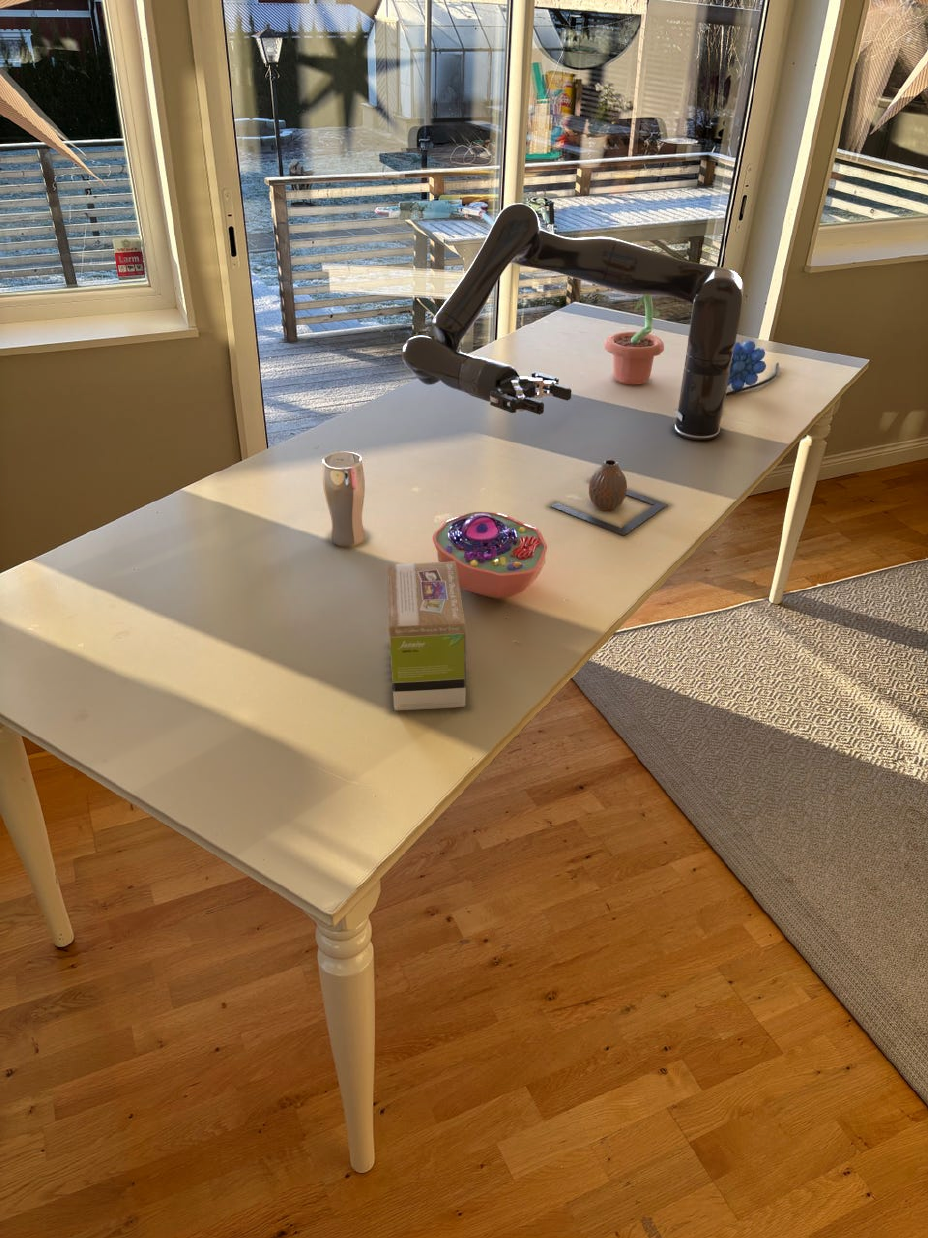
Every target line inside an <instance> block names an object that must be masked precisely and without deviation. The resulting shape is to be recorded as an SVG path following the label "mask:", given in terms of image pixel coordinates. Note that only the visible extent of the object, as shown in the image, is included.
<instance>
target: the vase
mask: <svg viewBox="0 0 928 1238" xmlns="http://www.w3.org/2000/svg"><path fill="white" fill-rule="evenodd" d="M627 481H628V480H627V478H626V475H625V474H624V472H623V471H622V469H621V468H620V466H619V464H618V461H617V460H614V459H606V460H604V461H603V463H602V465H601V466H599V467H598V469H596V470H595V471H594V472H593V474H592V475H591V478H590V480H589V485H588V495H589V498H590V501H591V502H592V504H593V506H595V507H596V508H598V509H600V510H602V511H612V510H615V509H616V508H618V507H619V506H620V505H621V504H623V502H624V500H625V498H626V496H627V495H626V492H627V490H628V482H627Z"/></svg>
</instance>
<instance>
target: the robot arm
mask: <svg viewBox="0 0 928 1238" xmlns="http://www.w3.org/2000/svg"><path fill="white" fill-rule="evenodd" d="M497 215H498V216H497V217H496V218H495V221H494V223H493V225H492V227H491V229H490V231H489V233H488V235H487V236H486V239H485V241H484V242H483V244H482V246H481V248H480V249H479V251H478V253H477V255H476V256H475V258H474V260H473V262H472V263H471V264H470V266H469V268H468V269H467V271H466V273H465V274H464V276H463V277H462V279H461V280H460V282H459V283H458V284H457V286H456V287H455V289H453V291H452V293H450V295H449V297H448V298H447V299H446V300H445V302H444V303H443V305H442V306H441V307H440V309H439V310H438V311H437V313H436V314H435V316H434V317H433V319H432V320H431V321H432V322H431V326H432V331H433V333H434V338H432V337H429V336H426V335H416V336H413V337H410V338H409V339H408V340H406V341H405V342H404V343H403V346H402V348H401V352H400V353H401V354H400V355H401V359H402V362H403V364H404V366H405V367H407V369H408V370H410V372H411V373H412V374H413V376H415V377H416V379H418V381H419V382H420V383H422V384H424V385H425V386H426V385H427V386H432V385H435V384H437V383H439V382H441V383H442V384H443V385H445V386H447V387H449V388H451V389H453V390H457V391H459V392H463V393H466V394H468V395H470V396H471V397H473V398H476V399H480V400H483V401H486V402H489V406H491V407H495V408H497V409H499V410H502V411H505V412H508V413H511V414H514V413H517V410H518V411H519V412H524V411H526V412H529V413H534V414H535V415H542V414H544V411H545V404H544V402H543V401H541V400H537V398H538V399H541V398H543V397H544V396H546V397H547V396H551V397H553V398H557V399H560V400H564V401H570V400H571V399H572V393H573V392H572V389H571V388H570V387H567V386H564V385H560V384H559V381H560V378H559V377H557V376H553V375H549V374H545V373H541V372H538V371H531V375H530V377H529V376H520V374H518V371H517V370H516V368H515V367H514V366H512V365H509V364H506V363H503V362H499V361H496V360H493V359H489V358H487V357H480V356H474V355H472V354H467V353H464V352H460V351H459V348H460V345H461V342H462V340H463V338H464V337H465V336H466V335H467V333H468V332H469V331H470V329H471V328H472V327H473V325H474V324H475V322H477V319H478V318H479V317H480V315H481V313H482V312H483V310H484V309H485V306H486V304H487V302H488V301H489V298H490V296H491V294H492V292H493V290H494V288H495V286H496V285H497V283H498V281H499V279H500V278H501V276H502V274H503V273H504V271H505V270H506V268H507V267H508V266H509V265H510V264H512V265H515V266H520V267H525V268H530V269H531V268H532V269H537V270H543V271H548V272H553V273H557V274H561V275H563V276H567V277H569V278H573V279H577V280H580V281H584V282H586V283H589V284H593V285H596V286H598V287H602V288H605V289H609V290H611V291H615V292H619V293H622V294H623V293H624V294H628V295H629V294H630V295H638V296H639V295H640V296H643V295H651V296H664V297H670V298H675V299H677V300H681V301H684V302H687V303H688V304H691V305H692V310H691V315H690V316H691V317H690V323H689V331H688V337H687V346H686V353H685V360H684V366H683V373H682V380H681V386H680V392H679V399H678V406H677V408H675V409H674V415H675V416H676V417H675V418H676V420H675V423H674V429H673V430H674V433H676V434H677V435H678V436H680V437H681V438H684V439H688V440H691V441H700V442H701V441H711V440H714V439H716V438H718V437H719V435H720V430H721V429H720V427H721V423H722V417H723V412H724V405H725V400H726V397H728V396H731V395H735V394H738V393H740V392H743V391H748V390H750V389H751V390H752V389H754V388H757V387H760V386H762V385H764V384H767V383H769V382H770V381H772V380H773V379H774V378H776V376H777V375H778V373H779V368H780V363H779V362H776V364H775V371H774V373H772V375H771V376H769V377H768V378H766V379H764V380H762V381H759V382H756V383H755V384H753V385H746V386H744V387H743V388H740V389H737V390H732V391H727V389H728V386H727V385H728V379H729V374H730V368H731V362H732V357H733V352H734V347H735V342H737V337H738V336H737V335H738V330H739V326H740V319H741V314H742V309H743V303H744V296H745V285H744V282H743V280H742V278H741V277H740V276H739V275H738V273H737V272H735V271H734V270H732V269H730V268H726V267H721V266H715V265H710V264H704V263H697V262H691V261H687V260H682V259H679V258H675V257H673V256H671V255H668V254H665V253H662V252H659V251H655V250H653V249H650V248H647V247H644V246H641V245H637V244H634V243H631V242H627V241H624V240H621V239H617V238H614V237H608V236H593V237H592V236H591V237H590V236H589V237H577V238H576V237H575V238H574V237H566V236H561V235H558V234H555V233H552V232H548V231H547V230H543V229H541V224H540V220H539V217H538V214H537V213H536V211H535V210H534V209H533V208H532V207H531V206H529V205H528V204H525V203H522V202H521V203H513V204H509V205H507V206H506V207H504V208H503V209H502V210H501V211H500V212H499V213H498V214H497ZM537 389H538V391H536V390H537ZM508 403H509V404H508Z"/></svg>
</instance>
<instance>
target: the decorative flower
mask: <svg viewBox="0 0 928 1238" xmlns="http://www.w3.org/2000/svg"><path fill="white" fill-rule="evenodd" d="M654 251H656V252H658V250H657V249H655V250H654ZM652 298H653V297H652V295H642V297H641V298H640V299H639V300H638V301H637V303H636V304H635V306H634V308H633V311H632V312H633V313H635V312H636V311H637V310H638V309H639V308H640V307H642V305H643V303H644V311H645V315H644V316H645V317H644V327H643V328H642V329H641V330H639V331H622V332H616V333H613V334H611V335H609V336H608V337H607V338H606V340H605V342H604V350H605V351H606V352H607V353H609V354H612V376H613V379H614V380H615V381H617V382H619V383H621V384H626V385H641V384H645V383H646V382H647V381H649V379H650V377H651V373H652V368H653V364H654V358H655V357H657V356H659V355H661V354H662V353H663V352H664V351H665V343H664V341H663V339H662V338H660V337H659V336H658V335H655V334H652V333H651V332H652V331H653V327H654V326H653V323H654V322H653V321H654V318H658V317H660V312H659V311H658V310H654V305H653V299H652Z"/></svg>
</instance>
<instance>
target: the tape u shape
mask: <svg viewBox="0 0 928 1238" xmlns="http://www.w3.org/2000/svg"><path fill="white" fill-rule="evenodd" d="M626 496H627V497H630V498H632V499H635V500H638V501H640V502H643V503H646V504H648V505H651V507H649V508H648V509H646V510H645V511H644V512H642V513H641V514H639V515H638V516H636V517H635V518H633V519H632V520H630V521H629V522H628V523H626V524H625V525H623V526H622V527H619V526H617V525H614V524H611V523H609V522H607V521H604V520H601V519H599V518H596V517H594V516H592V515H590V514H589V515H588V514H586V513H583V512H581V511H579V510H576V509H574V508H571V507H568V506H566V505H564V504H561V503H558V502H555V503H554V504H552V505H550V508H551V509H555V510H557V511H559V512H562V513H565V514H567V515H569V516H572V517H574V518H577V519H579V520H582V521H584V522H587V523H589V524H592V525H594V526H596V527H599V528H602V529H604V530H607V531H610V532H612V533H615V534H618V535H619V536H622V537H625V536H627V535H628V534H629V533H631V532H632V531H633V530H635V529H636V528H638V527H639V526H641V525H642V524H643V523H645V522H646V521H648V520H649V519H651V518H652V517H653V516H655V515H656V514H658V513H659V512H660V511H662V510H663V509H664V508H666V507H667V506H669V504H668V503H665V502H662V501H660V500H657V499H654V498H651V497H650V496H649V497H648V496H645V495H643V494H640V493H638V492H635V491H632V490H631V489H627V492H626Z"/></svg>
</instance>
